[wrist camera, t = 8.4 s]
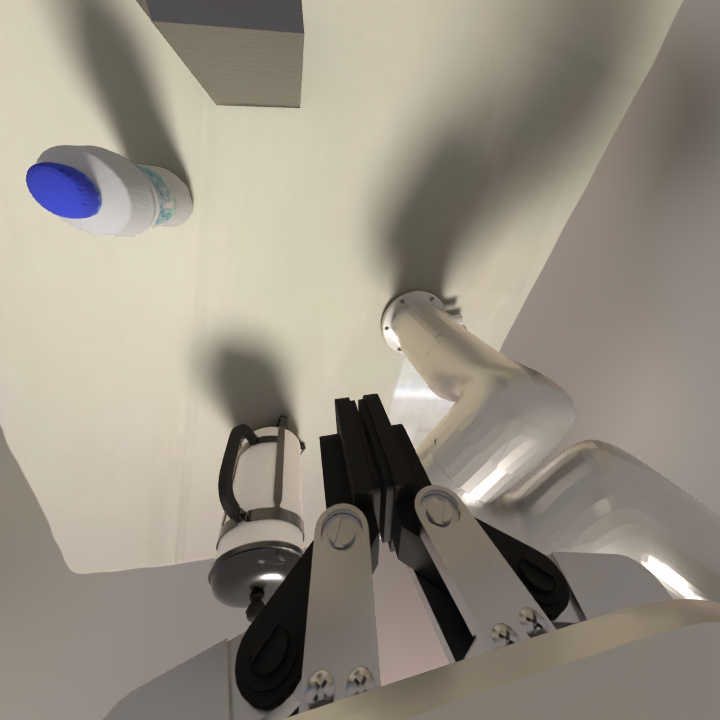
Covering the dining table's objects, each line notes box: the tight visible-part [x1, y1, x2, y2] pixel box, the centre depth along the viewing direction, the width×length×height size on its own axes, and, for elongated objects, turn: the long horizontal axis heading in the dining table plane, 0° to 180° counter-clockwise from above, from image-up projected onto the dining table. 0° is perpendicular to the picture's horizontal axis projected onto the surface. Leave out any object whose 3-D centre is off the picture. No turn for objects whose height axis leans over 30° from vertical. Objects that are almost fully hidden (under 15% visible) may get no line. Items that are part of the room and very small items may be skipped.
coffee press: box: [208, 416, 305, 622], centre depth 45 cm, size 17×16×30 cm
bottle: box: [26, 145, 193, 237], centre depth 26 cm, size 7×7×20 cm
